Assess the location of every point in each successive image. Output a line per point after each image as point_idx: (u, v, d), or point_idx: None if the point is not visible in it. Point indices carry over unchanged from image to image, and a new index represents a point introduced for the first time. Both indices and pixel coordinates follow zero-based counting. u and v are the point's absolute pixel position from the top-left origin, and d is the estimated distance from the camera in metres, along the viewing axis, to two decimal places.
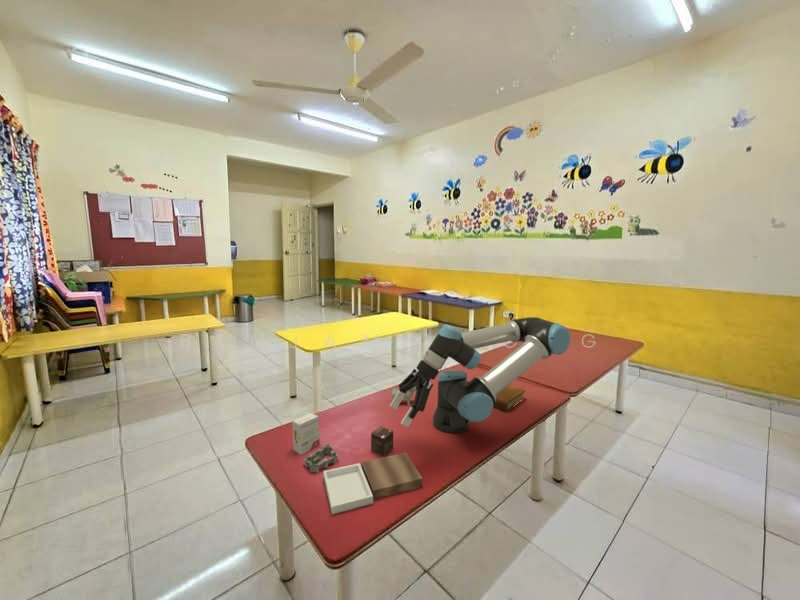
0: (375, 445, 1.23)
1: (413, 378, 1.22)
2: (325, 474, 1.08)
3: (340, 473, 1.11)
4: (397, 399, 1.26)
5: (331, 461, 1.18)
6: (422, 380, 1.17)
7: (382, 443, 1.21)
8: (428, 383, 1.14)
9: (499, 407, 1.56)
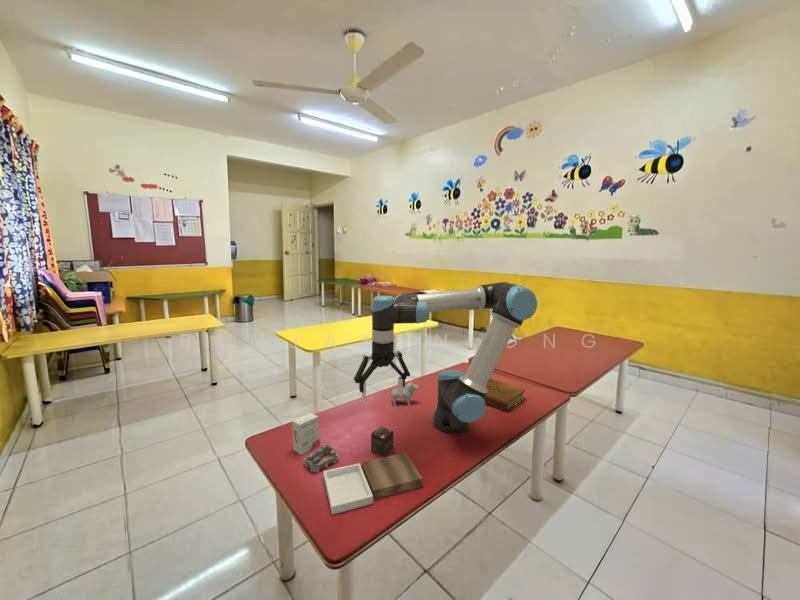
0: (375, 445, 1.23)
1: None
2: (325, 474, 1.08)
3: (340, 473, 1.11)
4: (399, 385, 1.24)
5: (331, 461, 1.18)
6: None
7: (382, 443, 1.21)
8: (363, 356, 1.18)
9: (499, 407, 1.56)
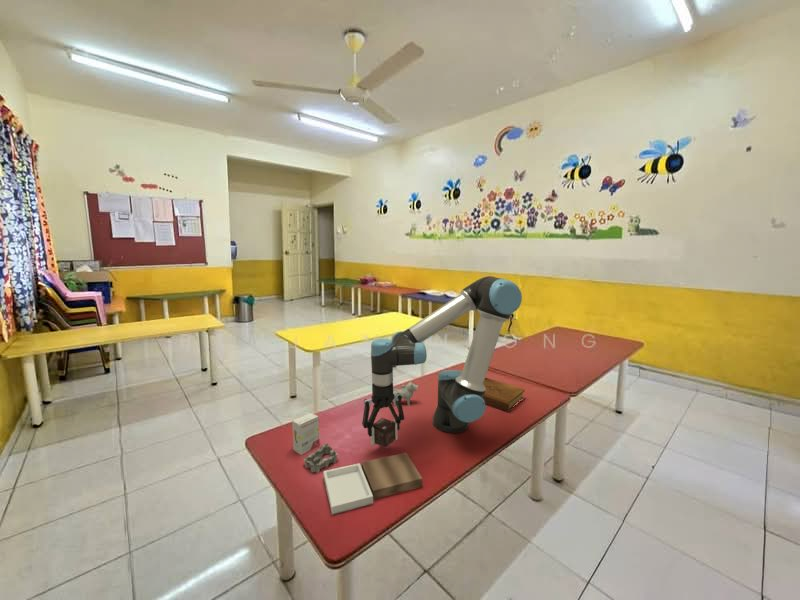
0: (377, 436, 1.23)
1: None
2: (325, 474, 1.08)
3: (340, 473, 1.11)
4: None
5: (331, 460, 1.18)
6: None
7: (383, 434, 1.21)
8: (364, 401, 1.21)
9: (500, 407, 1.56)
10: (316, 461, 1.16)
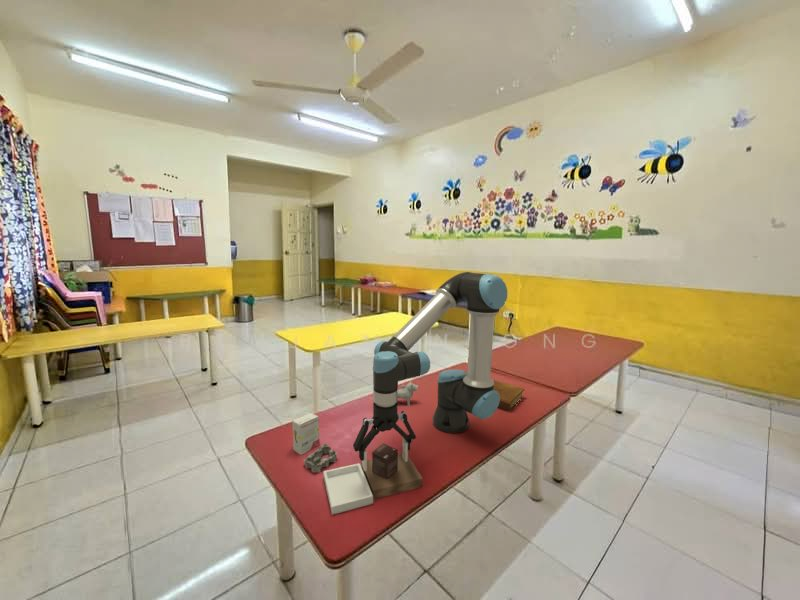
0: (377, 465, 1.07)
1: None
2: (325, 474, 1.08)
3: (340, 473, 1.11)
4: (403, 449, 1.11)
5: (331, 460, 1.19)
6: None
7: (384, 464, 1.05)
8: (363, 420, 1.05)
9: (502, 407, 1.56)
10: (316, 461, 1.16)
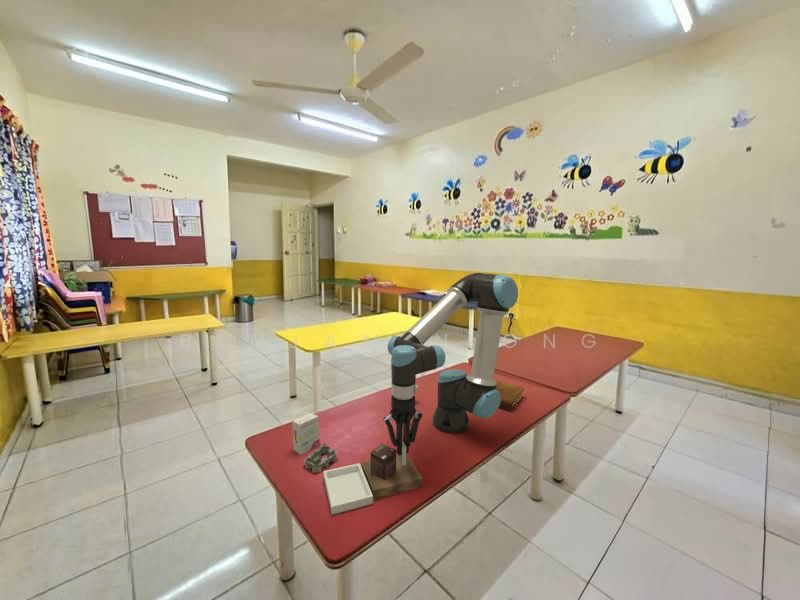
0: (375, 466, 1.07)
1: None
2: (325, 474, 1.08)
3: (340, 473, 1.11)
4: None
5: (331, 459, 1.19)
6: None
7: (382, 464, 1.05)
8: (384, 420, 1.07)
9: (503, 407, 1.56)
10: (317, 461, 1.16)
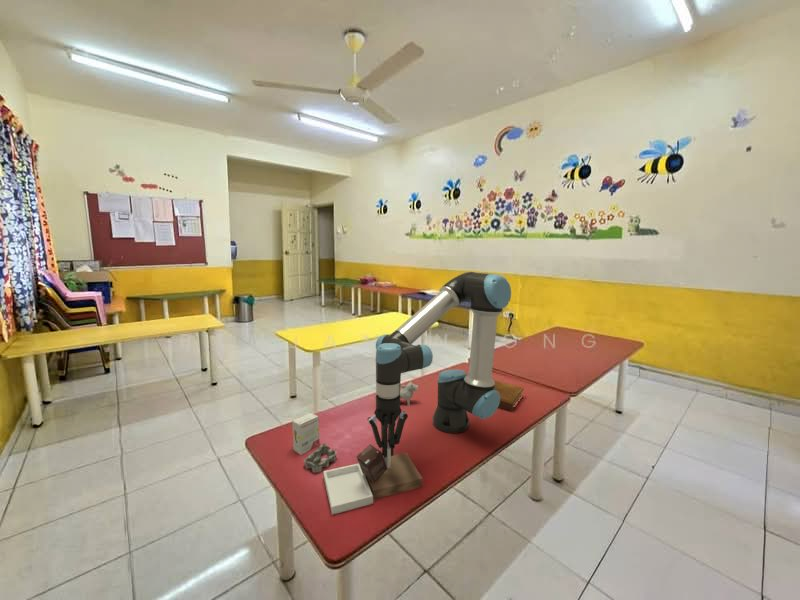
0: (363, 469, 1.06)
1: None
2: (325, 474, 1.08)
3: (340, 473, 1.11)
4: None
5: (331, 459, 1.19)
6: None
7: (367, 468, 1.03)
8: (368, 420, 1.04)
9: (504, 407, 1.56)
10: (317, 461, 1.16)
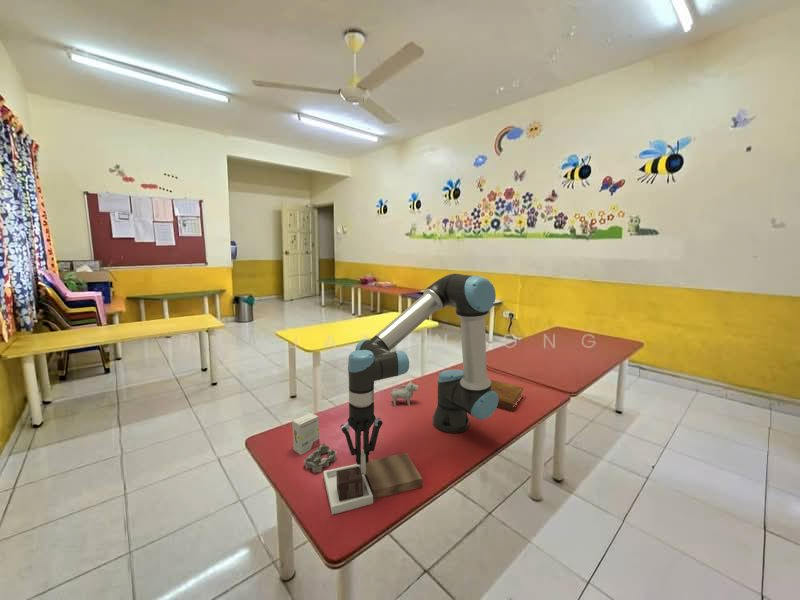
0: None
1: None
2: (325, 474, 1.08)
3: None
4: None
5: (331, 459, 1.19)
6: None
7: None
8: (341, 428, 1.02)
9: (504, 407, 1.56)
10: (317, 461, 1.16)
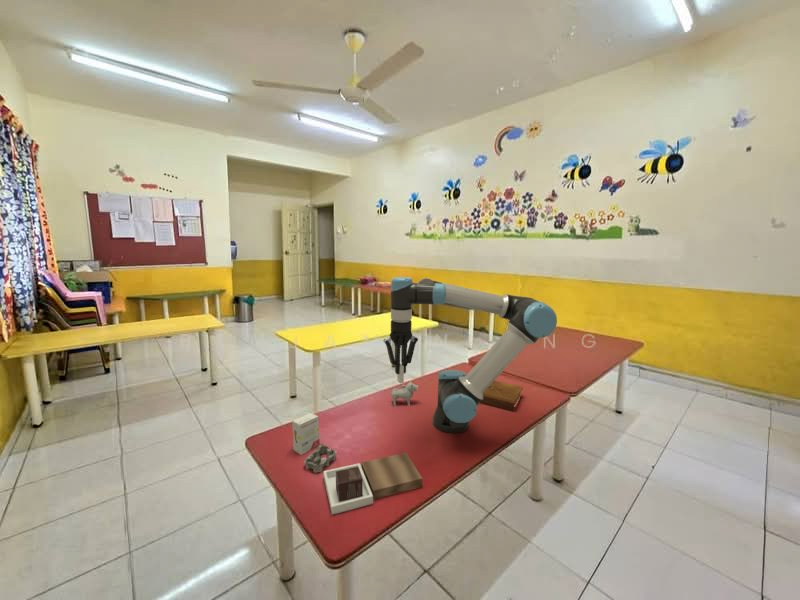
0: None
1: None
2: (325, 474, 1.08)
3: None
4: None
5: (331, 459, 1.19)
6: None
7: None
8: (384, 341, 1.23)
9: (505, 407, 1.57)
10: (317, 461, 1.16)
